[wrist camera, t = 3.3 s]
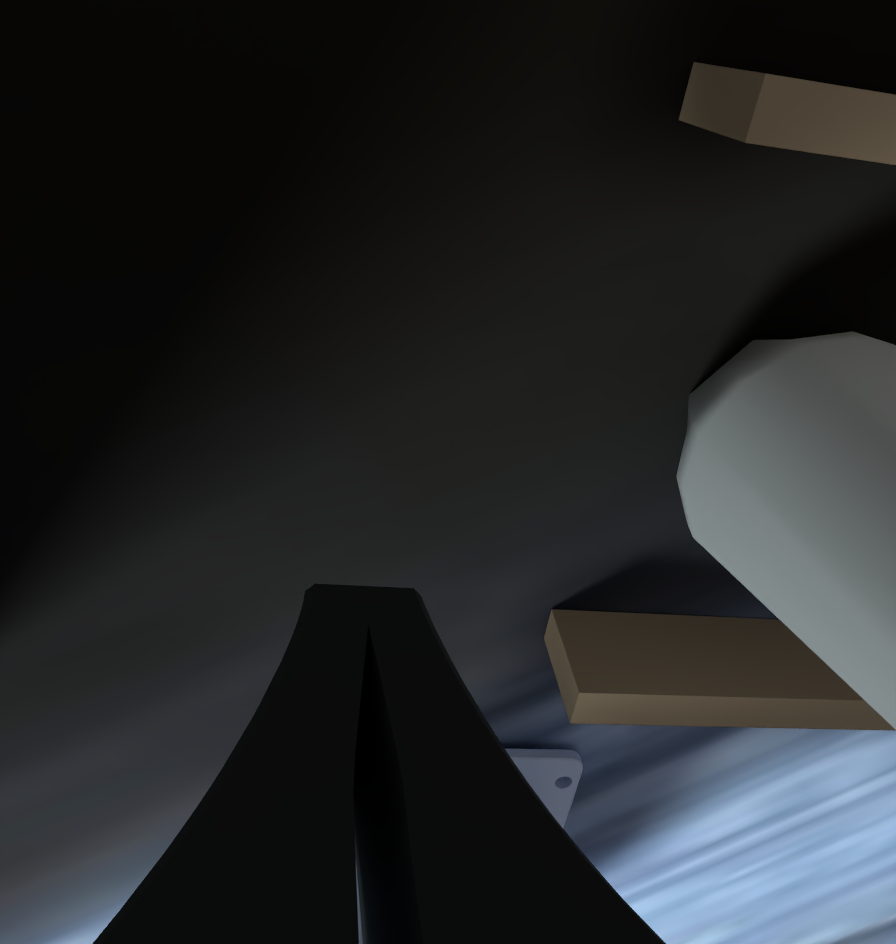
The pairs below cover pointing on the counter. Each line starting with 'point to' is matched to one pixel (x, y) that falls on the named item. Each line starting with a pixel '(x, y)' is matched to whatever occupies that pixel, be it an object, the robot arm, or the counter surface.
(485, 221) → the counter surface
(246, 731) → the robot arm
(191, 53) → the counter surface
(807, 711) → the tan u-shaped piece
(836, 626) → the salt shaker
